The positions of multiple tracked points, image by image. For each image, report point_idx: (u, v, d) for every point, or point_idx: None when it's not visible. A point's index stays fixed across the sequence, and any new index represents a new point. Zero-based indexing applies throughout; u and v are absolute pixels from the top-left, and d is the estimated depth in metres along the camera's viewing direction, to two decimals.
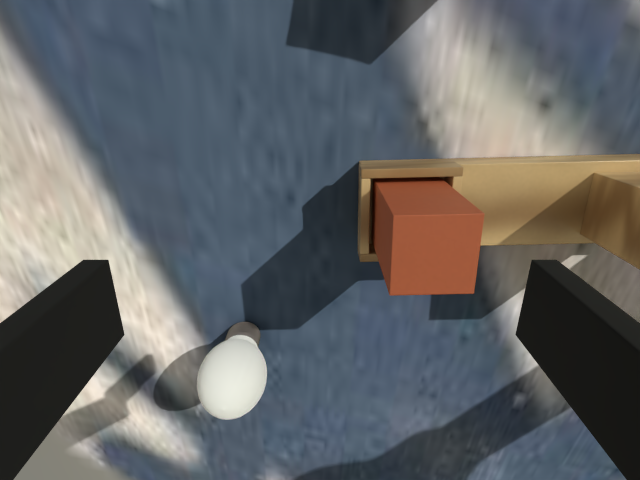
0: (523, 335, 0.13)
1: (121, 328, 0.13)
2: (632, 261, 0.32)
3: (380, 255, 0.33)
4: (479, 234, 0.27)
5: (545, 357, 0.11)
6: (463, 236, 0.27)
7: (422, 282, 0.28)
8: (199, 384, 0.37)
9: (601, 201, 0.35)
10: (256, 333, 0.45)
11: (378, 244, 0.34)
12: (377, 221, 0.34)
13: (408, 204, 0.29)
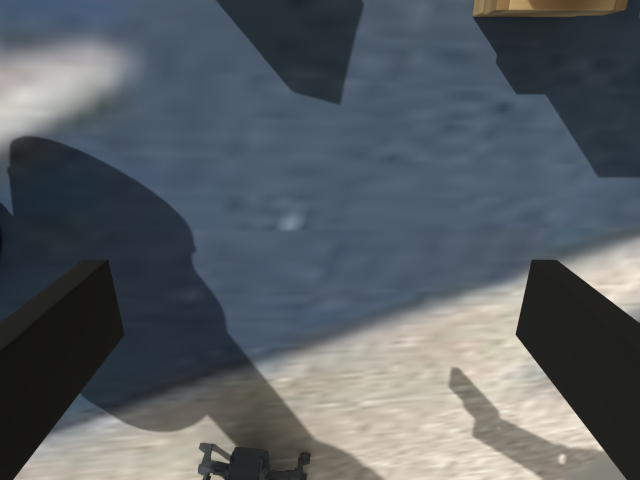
0: (523, 335, 0.13)
1: (121, 328, 0.13)
2: None
3: None
4: None
5: (545, 357, 0.11)
6: None
7: None
8: None
9: None
10: None
11: None
12: None
13: None
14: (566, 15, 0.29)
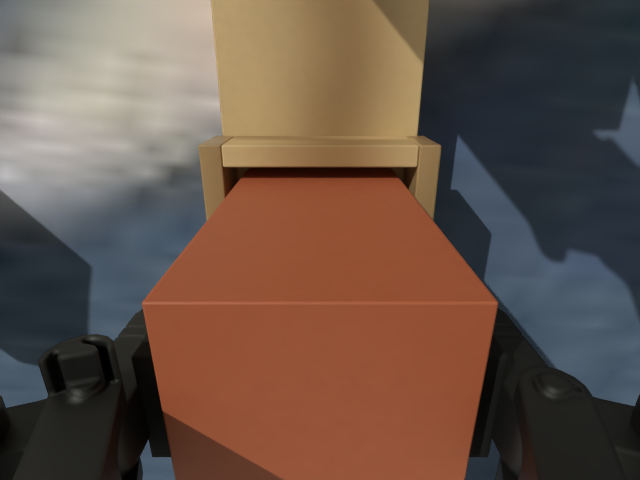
0: None
1: None
2: None
3: None
4: (229, 310, 0.07)
5: None
6: (240, 362, 0.07)
7: (420, 464, 0.08)
8: None
9: None
10: None
11: None
12: None
13: None
14: None
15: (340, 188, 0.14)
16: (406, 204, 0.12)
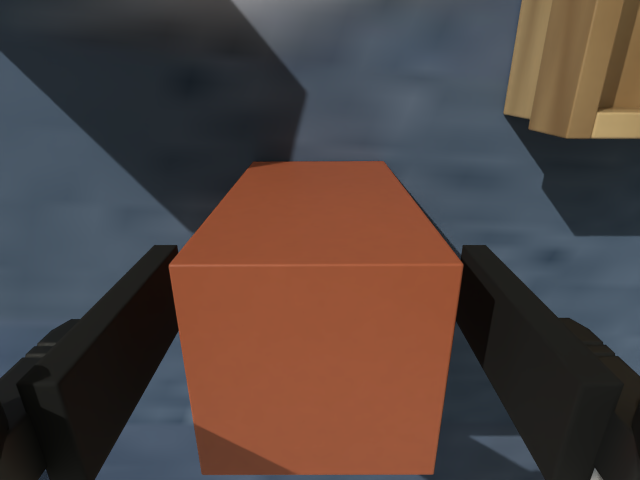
0: (457, 315, 0.14)
1: None
2: None
3: None
4: (241, 271, 0.08)
5: (471, 333, 0.12)
6: (249, 317, 0.09)
7: (402, 408, 0.09)
8: None
9: None
10: None
11: None
12: None
13: None
14: None
15: (336, 178, 0.15)
16: (394, 191, 0.13)
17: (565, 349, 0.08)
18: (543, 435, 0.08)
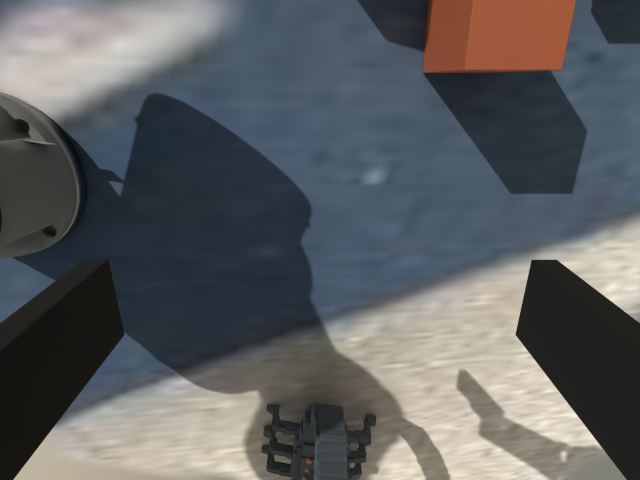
0: (523, 335, 0.13)
1: (121, 328, 0.13)
2: None
3: (511, 71, 0.29)
4: None
5: (545, 357, 0.11)
6: None
7: (554, 29, 0.24)
8: None
9: None
10: None
11: None
12: None
13: (455, 47, 0.26)
14: None
15: None
16: None
17: None
18: None
